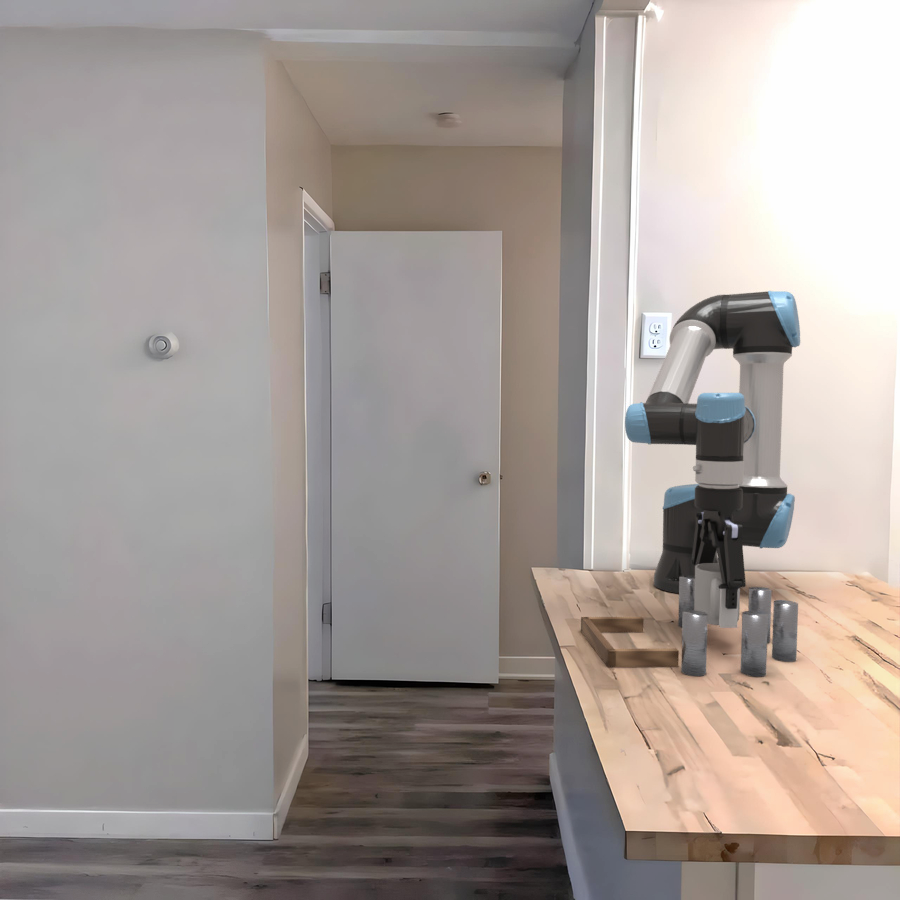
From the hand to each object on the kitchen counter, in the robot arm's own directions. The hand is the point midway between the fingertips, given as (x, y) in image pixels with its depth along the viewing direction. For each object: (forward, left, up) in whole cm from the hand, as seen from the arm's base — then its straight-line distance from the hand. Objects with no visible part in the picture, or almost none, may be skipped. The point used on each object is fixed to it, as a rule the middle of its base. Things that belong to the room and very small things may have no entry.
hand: (715, 617), depth 127 cm
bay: (+15, 0, -5) cm, 16 cm away
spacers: (0, 0, -5) cm, 5 cm away
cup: (0, 0, -1) cm, 1 cm away
